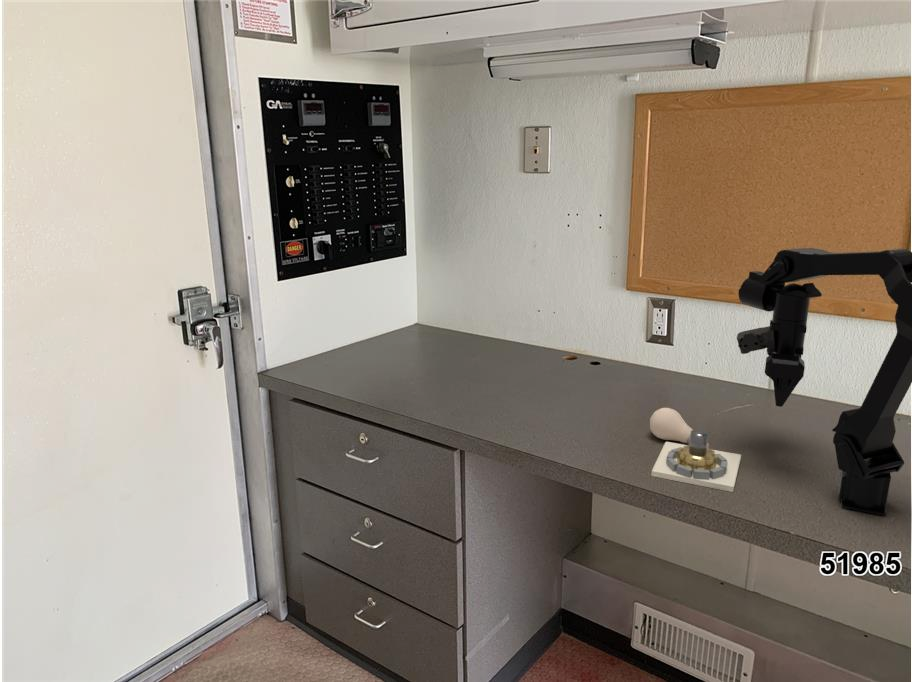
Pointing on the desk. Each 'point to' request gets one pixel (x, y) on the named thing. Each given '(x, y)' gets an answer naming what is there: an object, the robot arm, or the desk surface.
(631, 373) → the desk surface
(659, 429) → the light bulb
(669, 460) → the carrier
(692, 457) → the planet gear
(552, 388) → the desk surface
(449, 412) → the desk surface
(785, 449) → the desk surface
